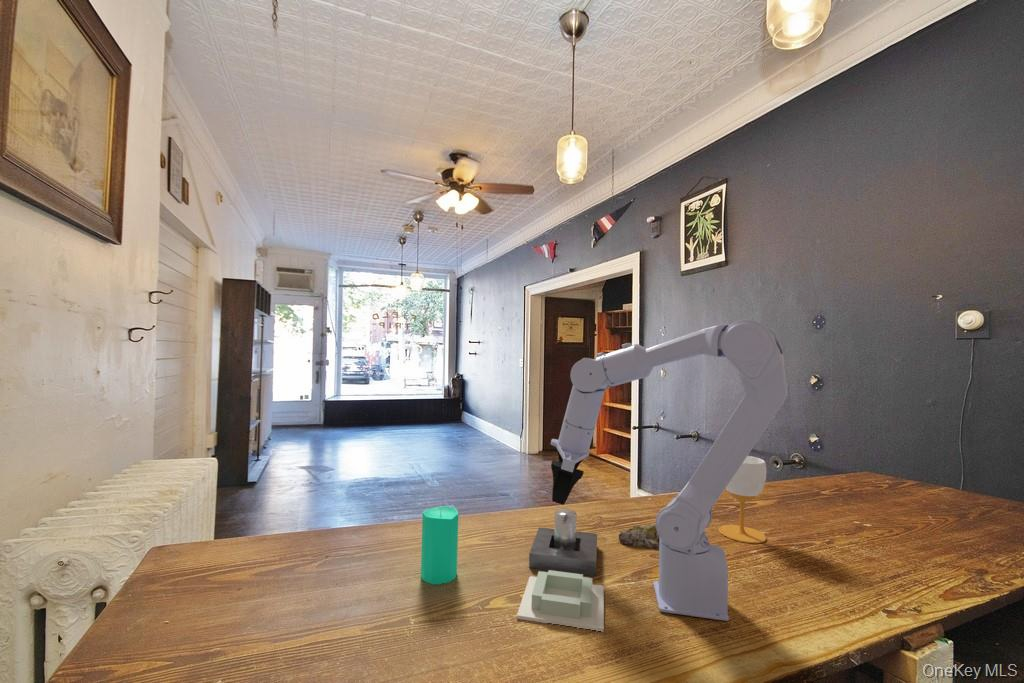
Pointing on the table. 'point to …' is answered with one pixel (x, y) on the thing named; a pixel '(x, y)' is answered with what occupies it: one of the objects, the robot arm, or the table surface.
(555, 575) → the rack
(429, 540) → the candle
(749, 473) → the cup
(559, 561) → the socket block
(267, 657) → the table surface
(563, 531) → the smooth metal cylinder
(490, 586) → the table surface
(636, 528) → the mineral rock
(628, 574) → the table surface
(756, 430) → the robot arm
